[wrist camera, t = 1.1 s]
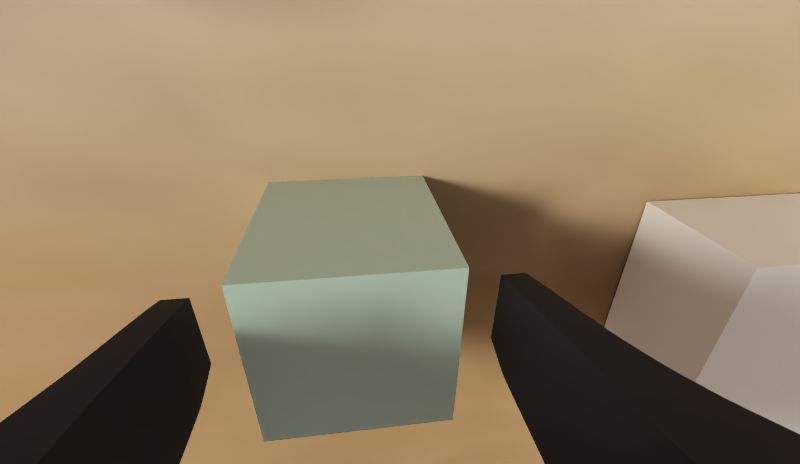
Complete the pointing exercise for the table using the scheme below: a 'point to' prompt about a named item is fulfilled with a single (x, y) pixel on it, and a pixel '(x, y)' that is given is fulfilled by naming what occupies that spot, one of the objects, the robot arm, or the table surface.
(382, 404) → the green cube
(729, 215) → the painted block
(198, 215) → the table surface
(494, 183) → the table surface
